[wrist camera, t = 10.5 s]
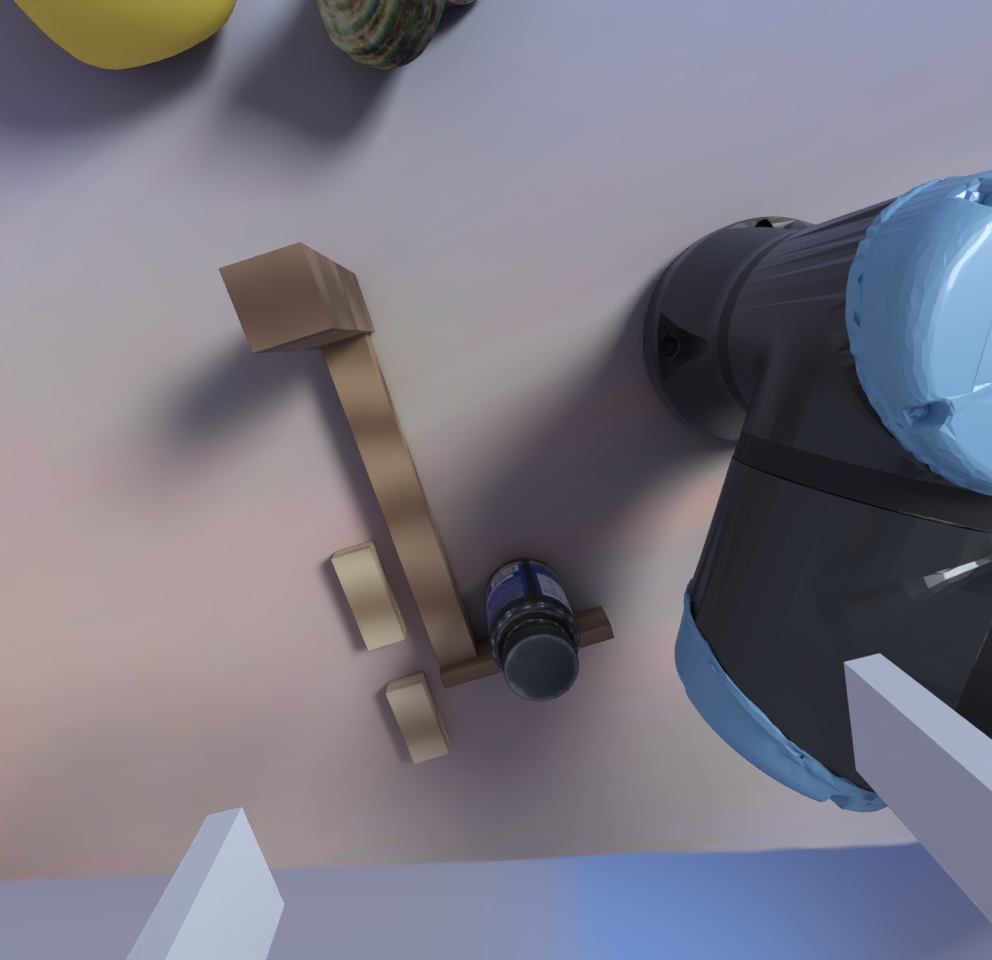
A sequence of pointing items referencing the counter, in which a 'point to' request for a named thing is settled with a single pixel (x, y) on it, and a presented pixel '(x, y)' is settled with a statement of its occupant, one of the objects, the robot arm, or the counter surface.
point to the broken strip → (382, 628)
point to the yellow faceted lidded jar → (127, 27)
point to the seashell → (383, 28)
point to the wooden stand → (369, 431)
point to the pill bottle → (532, 630)
